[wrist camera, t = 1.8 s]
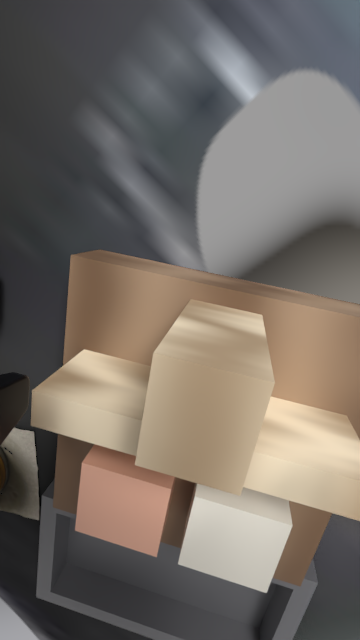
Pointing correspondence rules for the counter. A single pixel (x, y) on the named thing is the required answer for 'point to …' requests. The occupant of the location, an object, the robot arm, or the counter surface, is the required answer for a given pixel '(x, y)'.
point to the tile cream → (235, 535)
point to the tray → (158, 588)
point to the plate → (154, 323)
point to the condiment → (19, 474)
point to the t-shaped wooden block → (207, 414)
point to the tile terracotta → (122, 500)
